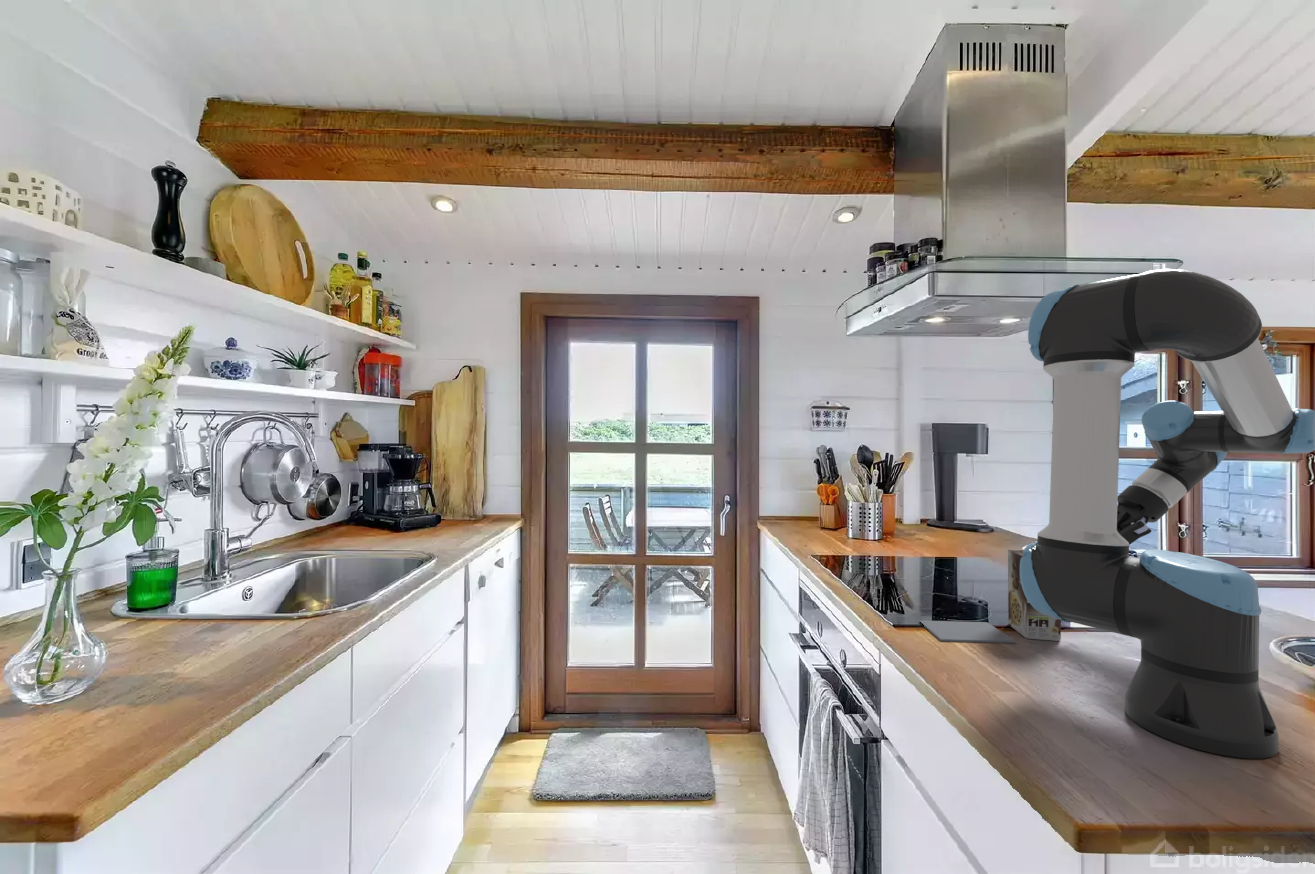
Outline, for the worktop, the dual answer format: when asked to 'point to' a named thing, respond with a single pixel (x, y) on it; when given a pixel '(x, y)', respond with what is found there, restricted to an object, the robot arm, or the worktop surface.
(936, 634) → the mat
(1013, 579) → the coffee box
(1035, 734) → the worktop surface
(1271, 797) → the worktop surface
